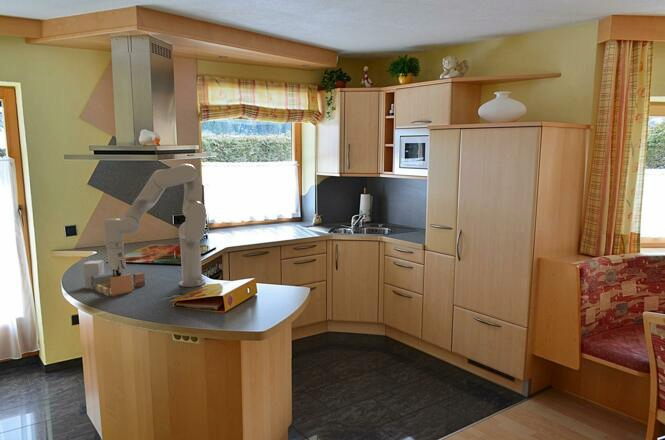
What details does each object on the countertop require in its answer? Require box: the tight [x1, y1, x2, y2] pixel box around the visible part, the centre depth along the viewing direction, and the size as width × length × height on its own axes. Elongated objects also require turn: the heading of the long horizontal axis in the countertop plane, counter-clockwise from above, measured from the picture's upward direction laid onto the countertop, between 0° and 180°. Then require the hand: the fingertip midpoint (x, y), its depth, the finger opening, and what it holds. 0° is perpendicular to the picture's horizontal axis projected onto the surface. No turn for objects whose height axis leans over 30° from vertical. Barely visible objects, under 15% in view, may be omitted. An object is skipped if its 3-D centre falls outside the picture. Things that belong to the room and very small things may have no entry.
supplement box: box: [82, 259, 106, 289], centre depth 250 cm, size 7×7×13 cm
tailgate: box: [110, 273, 134, 297], centre depth 232 cm, size 1×10×9 cm, turn 135°
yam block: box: [132, 272, 146, 288], centre depth 246 cm, size 4×4×7 cm
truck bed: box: [90, 272, 135, 297], centre depth 240 cm, size 21×12×7 cm, turn 45°
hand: (117, 283), depth 235 cm, fingers closed
